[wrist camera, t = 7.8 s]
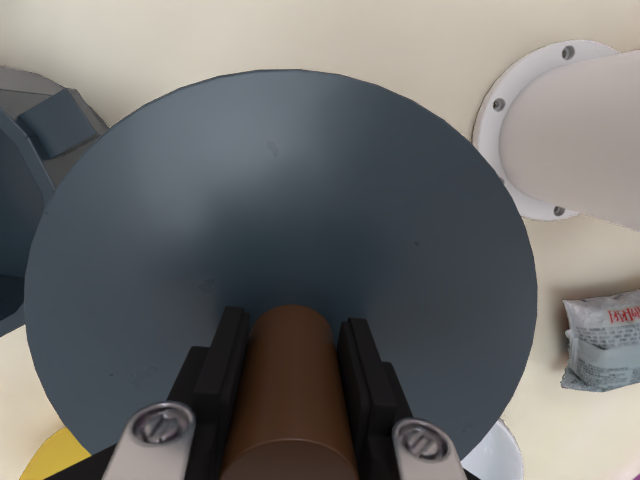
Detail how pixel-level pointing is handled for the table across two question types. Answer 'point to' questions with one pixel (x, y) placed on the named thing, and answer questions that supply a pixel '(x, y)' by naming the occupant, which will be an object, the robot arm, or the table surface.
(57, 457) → the teapot
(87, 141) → the pot
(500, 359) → the pot lid
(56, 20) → the table surface
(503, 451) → the cereal bowl
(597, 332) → the packaged food
